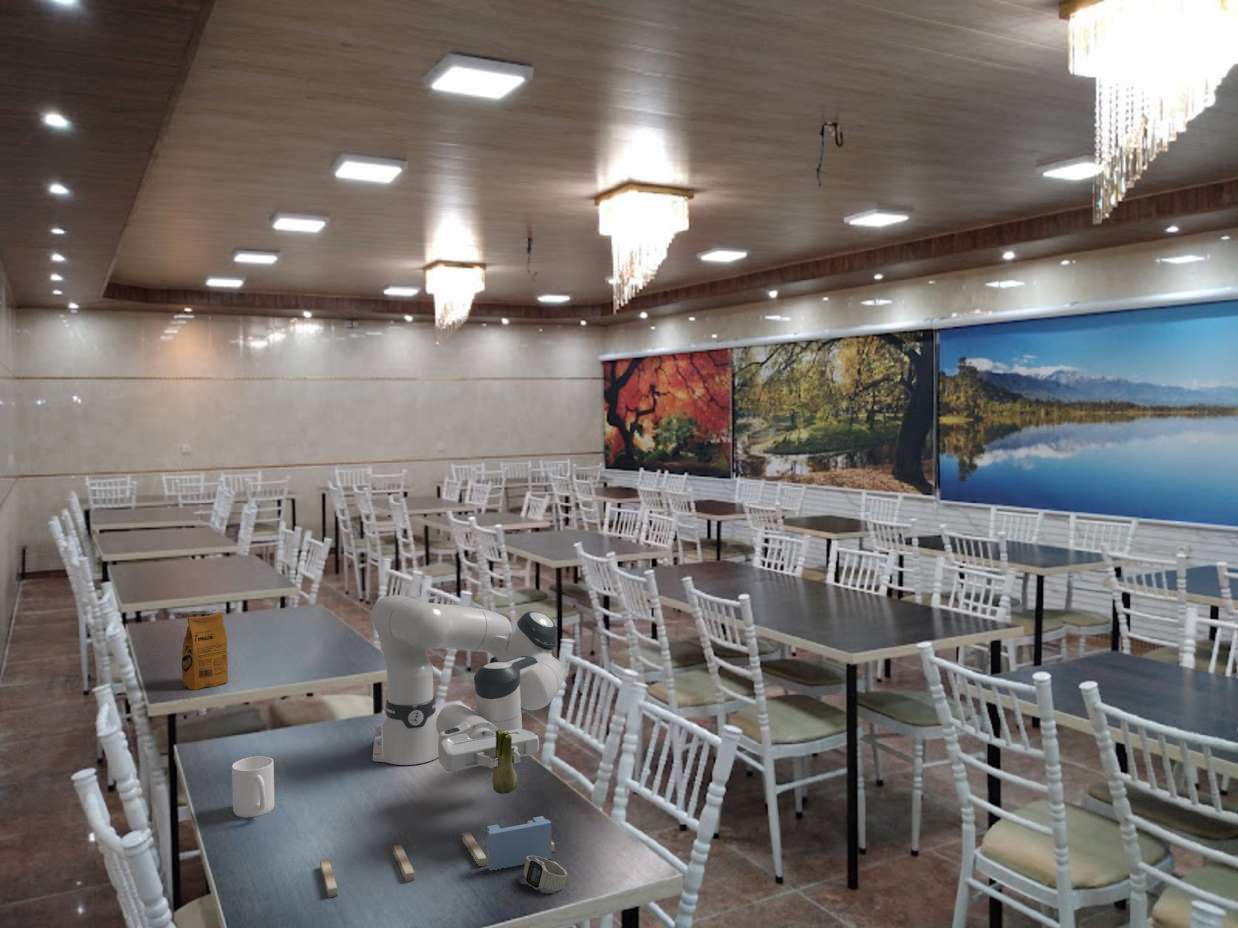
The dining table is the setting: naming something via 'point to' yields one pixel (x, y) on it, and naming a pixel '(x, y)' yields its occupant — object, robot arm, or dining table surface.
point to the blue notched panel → (518, 843)
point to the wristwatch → (544, 873)
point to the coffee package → (205, 652)
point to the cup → (253, 786)
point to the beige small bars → (406, 862)
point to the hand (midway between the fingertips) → (505, 761)
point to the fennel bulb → (504, 764)
